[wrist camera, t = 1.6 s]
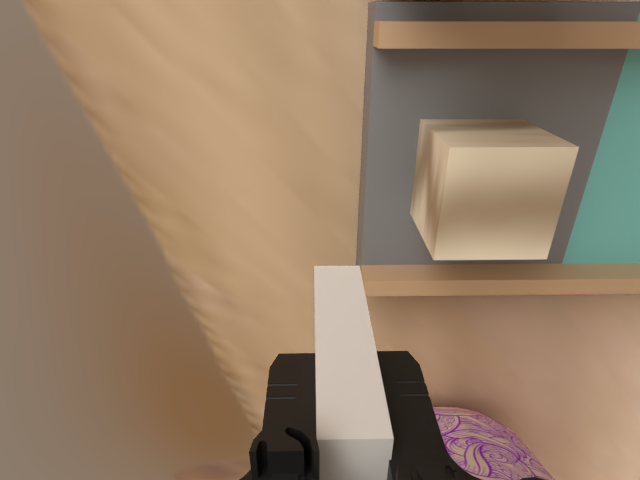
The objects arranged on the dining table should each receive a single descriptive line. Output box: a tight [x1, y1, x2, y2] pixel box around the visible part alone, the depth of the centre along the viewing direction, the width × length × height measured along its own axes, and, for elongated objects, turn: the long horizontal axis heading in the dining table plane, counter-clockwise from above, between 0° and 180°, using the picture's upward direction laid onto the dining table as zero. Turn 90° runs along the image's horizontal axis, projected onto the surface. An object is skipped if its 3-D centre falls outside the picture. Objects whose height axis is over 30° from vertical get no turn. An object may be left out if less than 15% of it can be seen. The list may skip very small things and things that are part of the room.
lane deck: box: [356, 1, 640, 296], centre depth 27 cm, size 18×32×5 cm, turn 90°
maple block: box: [410, 119, 579, 260], centre depth 24 cm, size 6×6×6 cm
